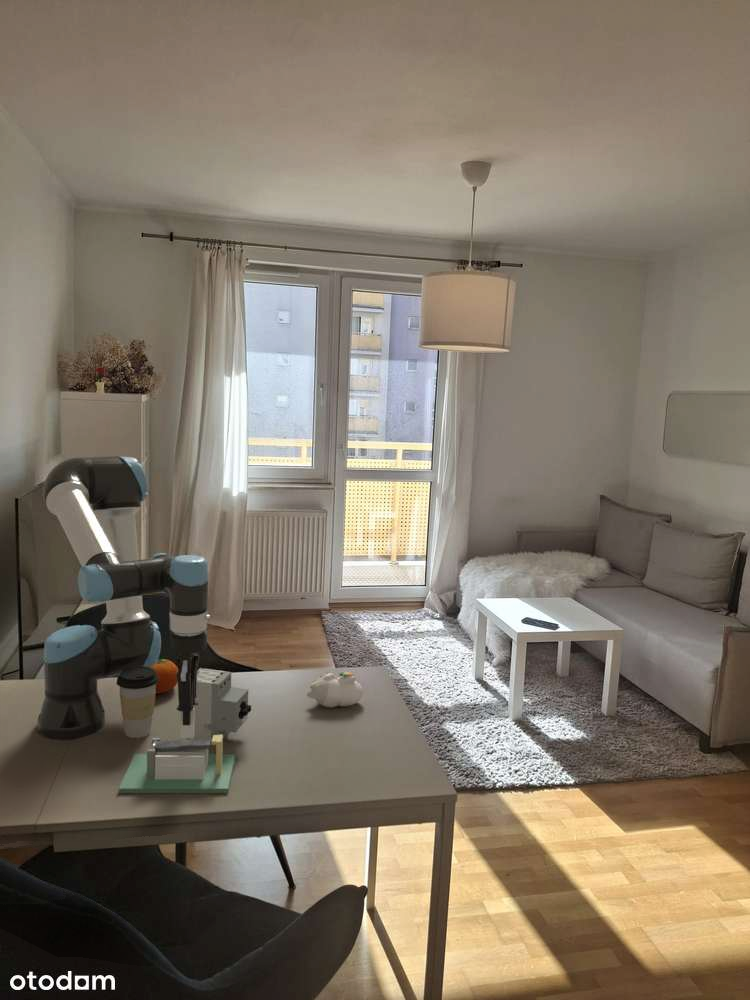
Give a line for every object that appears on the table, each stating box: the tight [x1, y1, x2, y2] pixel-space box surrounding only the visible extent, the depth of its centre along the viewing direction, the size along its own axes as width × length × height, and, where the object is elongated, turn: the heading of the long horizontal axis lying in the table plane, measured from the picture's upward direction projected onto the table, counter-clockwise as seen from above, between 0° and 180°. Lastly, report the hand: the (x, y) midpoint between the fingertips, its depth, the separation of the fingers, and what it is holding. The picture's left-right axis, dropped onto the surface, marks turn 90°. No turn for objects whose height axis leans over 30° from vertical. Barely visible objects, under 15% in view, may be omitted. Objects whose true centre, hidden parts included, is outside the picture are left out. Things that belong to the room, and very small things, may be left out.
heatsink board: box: [118, 735, 236, 794], centre depth 157 cm, size 22×14×8 cm, turn 95°
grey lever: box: [149, 739, 212, 751], centre depth 157 cm, size 13×3×1 cm, turn 95°
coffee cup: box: [116, 666, 159, 739], centre depth 174 cm, size 9×9×15 cm
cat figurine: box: [306, 671, 364, 708], centre depth 195 cm, size 10×8×15 cm
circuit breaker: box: [184, 667, 252, 745], centre depth 174 cm, size 8×14×15 cm, turn 78°
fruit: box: [151, 658, 178, 694], centre depth 198 cm, size 11×10×8 cm
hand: (187, 736), depth 156 cm, fingers closed
